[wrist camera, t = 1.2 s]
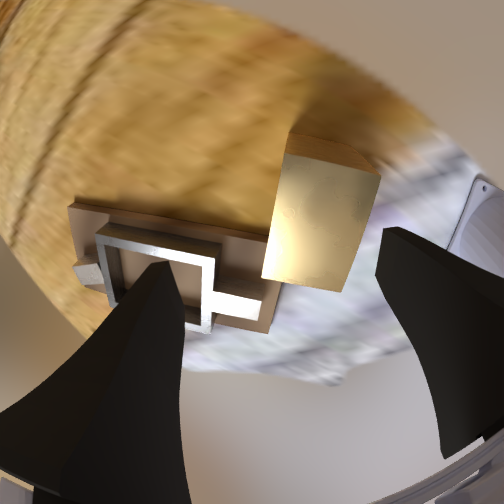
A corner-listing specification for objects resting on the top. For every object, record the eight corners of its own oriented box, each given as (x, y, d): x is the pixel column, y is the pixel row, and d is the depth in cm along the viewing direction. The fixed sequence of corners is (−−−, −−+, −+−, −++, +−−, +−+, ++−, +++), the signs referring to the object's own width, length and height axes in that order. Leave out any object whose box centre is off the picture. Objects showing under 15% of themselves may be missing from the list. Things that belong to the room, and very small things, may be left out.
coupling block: (350, 145, 16) (381, 176, 10) (329, 228, 19) (340, 292, 13) (288, 132, 16) (284, 153, 10) (273, 217, 19) (261, 277, 13)
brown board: (290, 240, 20) (289, 263, 18) (269, 326, 25) (265, 351, 22) (74, 202, 21) (52, 217, 19) (89, 281, 26) (74, 298, 23)
